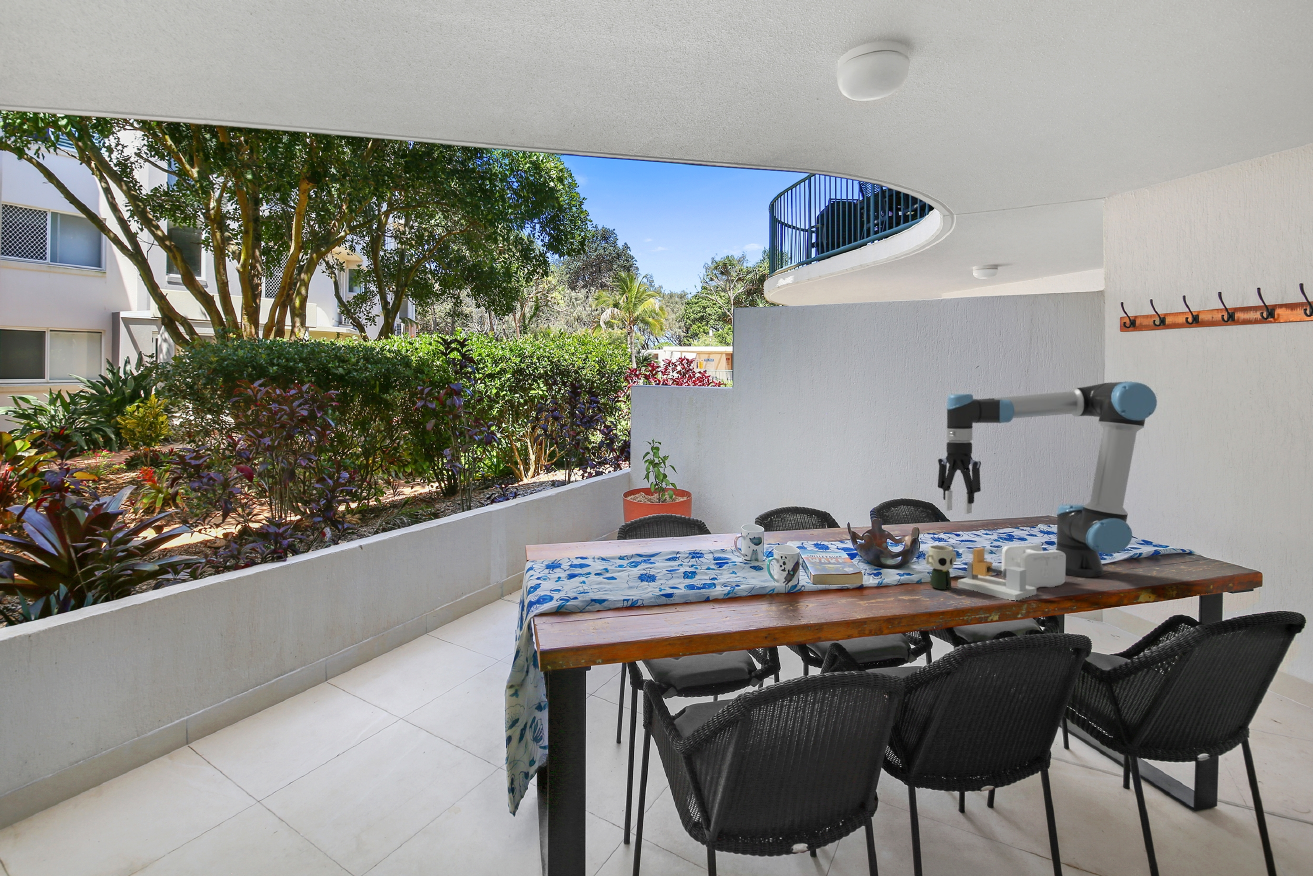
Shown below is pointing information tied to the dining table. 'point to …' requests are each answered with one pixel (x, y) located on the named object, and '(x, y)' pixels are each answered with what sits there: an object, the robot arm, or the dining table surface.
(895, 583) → the dining table surface
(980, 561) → the sleeve
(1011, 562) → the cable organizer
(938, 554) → the character mug
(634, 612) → the dining table surface
